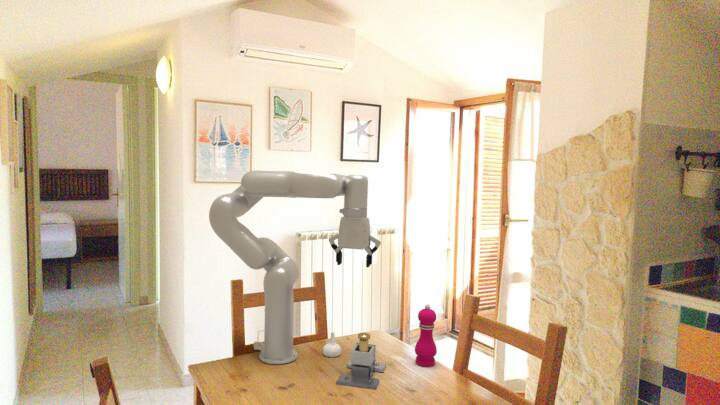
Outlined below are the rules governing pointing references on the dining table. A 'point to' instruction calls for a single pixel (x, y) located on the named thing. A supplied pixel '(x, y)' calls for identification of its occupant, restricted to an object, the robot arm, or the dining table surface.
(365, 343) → the hinge pin
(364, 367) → the fixed leaf
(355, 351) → the square tube bracket
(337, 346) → the garlic bulb
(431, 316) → the pepper mill
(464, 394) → the dining table surface
